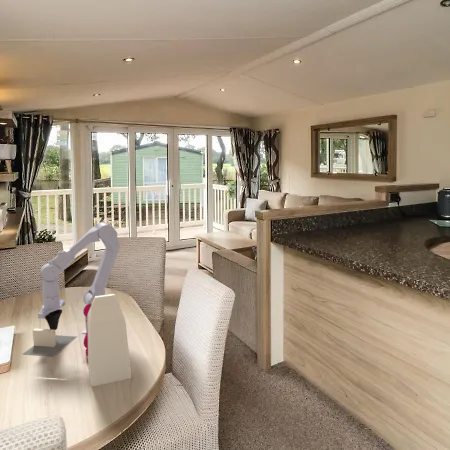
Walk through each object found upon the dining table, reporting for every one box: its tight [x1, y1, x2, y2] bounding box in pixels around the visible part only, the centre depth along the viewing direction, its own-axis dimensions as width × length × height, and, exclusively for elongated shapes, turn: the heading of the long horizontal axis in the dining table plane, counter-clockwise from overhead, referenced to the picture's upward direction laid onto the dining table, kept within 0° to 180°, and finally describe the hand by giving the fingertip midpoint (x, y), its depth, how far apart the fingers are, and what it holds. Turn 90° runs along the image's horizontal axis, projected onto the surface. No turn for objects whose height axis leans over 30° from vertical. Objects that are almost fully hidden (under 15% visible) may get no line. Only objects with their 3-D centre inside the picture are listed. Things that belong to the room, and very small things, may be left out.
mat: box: [22, 334, 77, 357], centre depth 143 cm, size 12×16×1 cm
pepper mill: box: [82, 299, 93, 357], centre depth 136 cm, size 7×7×20 cm
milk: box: [87, 293, 132, 388], centre depth 122 cm, size 12×12×26 cm
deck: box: [32, 328, 56, 347], centre depth 142 cm, size 8×2×6 cm, turn 81°
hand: (53, 329), depth 148 cm, fingers closed
